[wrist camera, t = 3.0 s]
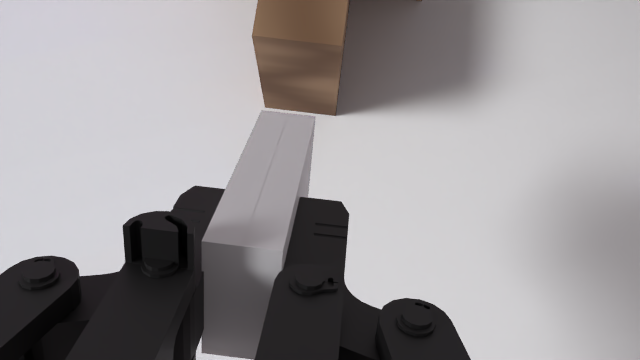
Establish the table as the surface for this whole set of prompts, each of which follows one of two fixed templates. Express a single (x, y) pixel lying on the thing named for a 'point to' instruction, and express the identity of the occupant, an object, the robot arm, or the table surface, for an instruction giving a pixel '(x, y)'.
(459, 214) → the table surface
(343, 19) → the t block
